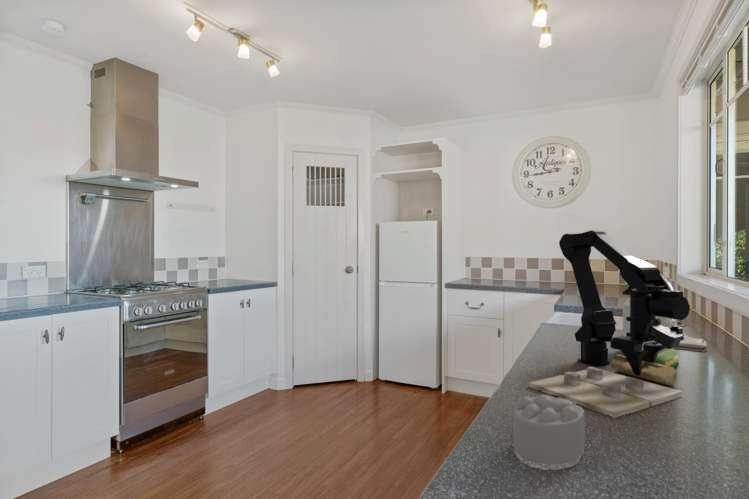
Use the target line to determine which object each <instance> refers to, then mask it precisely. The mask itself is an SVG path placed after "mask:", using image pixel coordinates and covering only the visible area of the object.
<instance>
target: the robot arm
mask: <svg viewBox="0 0 749 499" xmlns="http://www.w3.org/2000/svg"><path fill="white" fill-rule="evenodd" d="M558 246H559V248H560V250H561V253H562V256H564V258H565V259H566V260H567V261H568V262H570V264H571V268H572V271H573V276H574V279H575V282H576V286H577V290H578V292H579V296H580V300H581V303H582V308H583V310H582V314H581V318H580V321H581V326H580V327H579V329H578V330H576V332H575V333H574V337H575V340H576V342H579V343H580V358H577V359H576V360H577V362H579V363H584V364H586V365H587V364H588V365H591V366H596V367H597V366H603V365H607V364H610V363H611V361H610V360H609V348H608V347H607V346H608V345H607V342H608V343H609V344H610V349H613V350H617V351H618V350H619V351H621V352H622V354H623V356H625V357H626V359H627V361H628V362H629V364H630V366H631V368H632V370H633V372H634V374H635V375H637V376H639V375H640V372H641V364H642V360H643V361H648V362H652V363H654V362H655V360H656V357H657V355H658V353H661V352H663V350H665V349H667V350H669V349H674V348H673V347H678V345H679V343H680V341H682V340H684V337H683V336H685V335H684V330H683V327H681V326H679V325H672V326H671V327H669V326H664V325H663V324H662V320H661V318H666V319H670V320H671V319H672V320H678V321H683V320H685V319H686V318H687V317H688V316H689V313H690V311H691V310H690V309H691V306H690V304H689V301H688V299H687V298H686V297H685V296H684V291H682V290H672V289H671V288H670V287H669V285H668V284H667V283H666V281H665V279H664V278H663V277H662V275H661V270H660V268H658V267H657V266H656V265H654V264H652V263H650V262H649V261H646V260H643V259H640V258H638V257H635V256H633V254H631V253H630V252H628V251H627V249H625V248H624V247H622V246H621V245H620V244H618V243H617V242H616V241H615V240H613V239H612V238H611V237H609V236H608V235H607V233H606V231H604V230H600V229H599V230H598V229H597V230H594V229H593V230H588V231H584V232H580V233H564V234H562V236H561V237H560V239H559V245H558ZM592 247H593V248H594V249H596V250H597V252H599V253H600V254H601V255H602V256H603V257H605V258H606V259H607V260H608V261H609V262H611V263H612V264H613V265H614V266H615V267H617V269H618V270H619V274H620V277H621V278H622V280H624V282H625V283H626V284H627V285H628V287H627V288H626V289H624V291H622V295H627V296H629V298H630V316H629V317H626V321H630V332H626V336H627V337H625V336H623V335H619V336H614V334H615V332H616V330H617V328H616V325H617V322H616V321H615V318H614V313H613V311H612V310H611V309H610V310H607V309H606V308H605V307H604V306H603V304H602V301H601V297H600V295H599V291H598V287H597V284H596V281H595V277H594V274H593V271H592V267H591V263H590V256H591V253H592ZM656 316H657V318H656ZM659 317H660V318H659ZM613 336H614V337H613ZM630 337H631V338H630ZM661 345H663V346H661Z"/></svg>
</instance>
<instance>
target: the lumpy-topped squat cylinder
mask: <svg viewBox="0 0 749 499" xmlns="http://www.w3.org/2000/svg"><path fill="white" fill-rule="evenodd" d="M512 413H513V414H512V417H513V419H512V420H513V421H512V423H513V424H512V425H513V428H512V429H513V430H512V431H513V433H512V434H513V436H512V438H513V445H514V449H515V451H516V452H517V453H518V454H519V455H520V456H521V457H522V458H524V459H526V460H528V461H531V462H532V461H533V462H536V463H541V464H542V463H543V464H564V463H570V462H574V461H576V460H577V459H578V458H579V457H580V456H581V455H582V453H583V451H584V449H585V448H586V447H585V445H586V444H585V440H586V439H585V434H586V433H585V431H586V430H585V410H584V407H582V406H579V405H576V404H573V403H572V402H571V401H569V400H567V399H562V398H557V397H554V396H551V395H549V394H540V395H538V396H531V397H529V396H528V395H525V396H524V395H523V396H522V397H520V398H519V399H518V400H517V403H516V404H515V405H514V406H513V409H512ZM514 449H513V450H514Z"/></svg>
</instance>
